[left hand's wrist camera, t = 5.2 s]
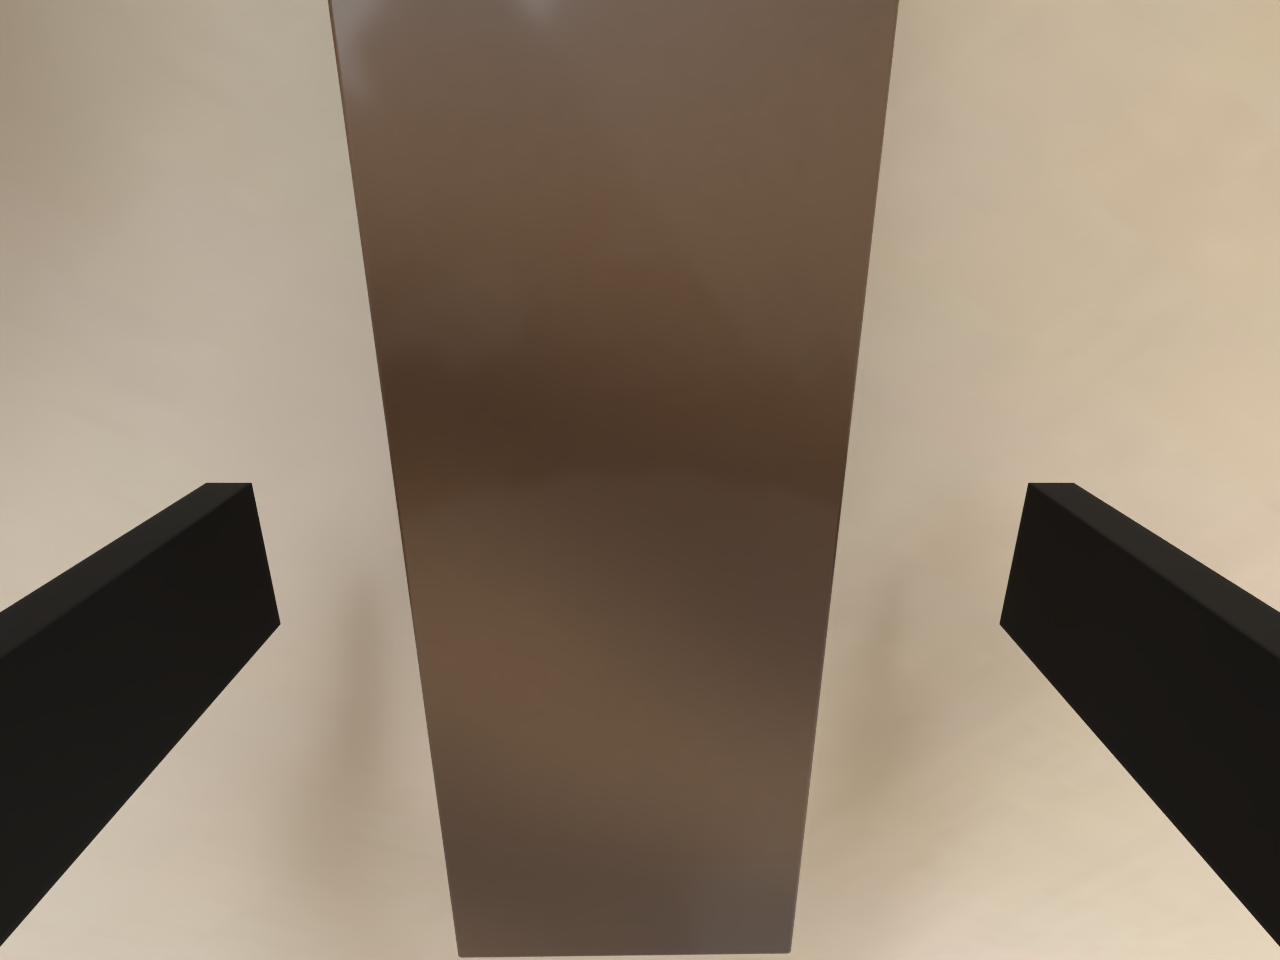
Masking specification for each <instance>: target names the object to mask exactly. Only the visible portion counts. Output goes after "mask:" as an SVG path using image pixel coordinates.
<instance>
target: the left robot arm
mask: <svg viewBox="0 0 1280 960" xmlns="http://www.w3.org/2000/svg"><path fill="white" fill-rule="evenodd" d="M279 625H280V619H279V614H278V610H277V605H276V600H275V595H274V590H273V585H272V580H271V575H270V570H269V566H268V561H267V556H266V551H265V546H264V541H263V536H262V531H261V526H260V522H259V517H258V512H257V507H256V502H255V497H254V492H253V487H252V483H205V484H204V485H202V486H201V487H199V488H197V489H196V490H194V491H193V492H191V493H189V494H188V495H186V496H185V497H183V498H182V499H180V500H178V501H177V502H175V503H174V504H172V505H170V506H169V507H167V508H166V509H164V510H162V511H161V512H159V513H158V514H156V515H154V516H153V517H151V518H150V519H148V520H147V521H145V522H143V523H142V524H140V525H139V526H137V527H135V528H134V529H132V530H131V531H129V532H127V533H126V534H124V535H123V536H121V537H119V538H118V539H116V540H115V541H113V542H112V543H110V544H108V545H107V546H105V547H104V548H102V549H100V550H99V551H97V552H96V553H94V554H92V555H91V556H89V557H88V558H86V559H84V560H83V561H81V562H80V563H78V564H76V565H75V566H73V567H72V568H70V569H69V570H67V571H65V572H64V573H62V574H61V575H59V576H57V577H56V578H54V579H53V580H51V581H49V582H48V583H46V584H45V585H43V586H41V587H40V588H38V589H37V590H35V591H34V592H32V593H30V594H29V595H27V596H26V597H24V598H22V599H21V600H19V601H18V602H16V603H14V604H13V605H11V606H10V607H8V608H6V609H5V610H3V611H2V612H0V946H1V945H2V944H3V943H4V942H5V940H6V939H7V938H8V937H9V936H10V935H11V934H12V932H13V931H14V930H15V929H16V928H17V927H18V926H19V924H20V923H21V922H22V921H23V920H24V919H25V917H26V916H27V915H28V914H29V913H30V912H31V911H32V909H33V908H34V907H35V906H36V905H37V904H38V903H39V901H40V900H41V899H42V898H43V897H44V896H45V894H46V893H47V892H48V891H49V890H50V889H51V888H52V886H53V885H54V884H55V883H56V882H57V881H58V880H59V878H60V877H61V876H62V875H63V874H64V873H65V871H66V870H67V869H68V868H69V867H70V866H71V865H72V863H73V862H74V861H75V860H76V859H77V858H78V856H79V855H80V854H81V853H82V852H83V851H84V850H85V848H86V847H87V846H88V845H89V844H90V843H91V842H92V840H93V839H94V838H95V837H96V836H97V835H98V833H99V832H100V831H101V830H102V829H103V828H104V827H105V825H106V824H107V823H108V822H109V821H110V820H111V819H112V817H113V816H114V815H115V814H116V813H117V812H118V810H119V809H120V808H121V807H122V806H123V805H124V804H125V802H126V801H127V800H128V799H129V798H130V797H131V796H132V794H133V793H134V792H135V791H136V790H137V789H138V787H139V786H140V785H141V784H142V783H143V782H144V781H145V779H146V778H147V777H148V776H149V775H150V774H151V772H152V771H153V770H154V769H155V768H156V767H157V766H158V764H159V763H160V762H161V761H162V760H163V759H164V758H165V756H166V755H167V754H168V753H169V752H170V751H171V749H172V748H173V747H174V746H175V745H176V744H177V743H178V741H179V740H180V739H181V738H182V737H183V736H184V735H185V733H186V732H187V731H188V730H189V729H190V728H191V726H192V725H193V724H194V723H195V722H196V721H197V720H198V718H199V717H200V716H201V715H202V714H203V713H204V712H205V710H206V709H207V708H208V707H209V706H210V705H211V703H212V702H213V701H214V700H215V699H216V698H217V697H218V695H219V694H220V693H221V692H222V691H223V690H224V689H225V687H226V686H227V685H228V684H229V683H230V682H231V680H232V679H233V678H234V677H235V676H236V675H237V674H238V672H239V671H240V670H241V669H242V668H243V667H244V665H245V664H246V663H247V662H248V661H249V660H250V659H251V657H252V656H253V655H254V654H255V653H256V652H257V651H258V649H259V648H260V647H261V646H262V645H263V644H264V642H265V641H266V640H267V639H268V638H269V637H270V636H271V634H272V633H273V632H274V631H275V630H276V629H277V628H278V626H279ZM1000 625H1001V626H1002V628H1003V629H1004V630H1005V631H1006V632H1007V633H1008V634H1009V636H1010V637H1011V638H1012V639H1013V640H1014V641H1015V642H1016V644H1017V645H1018V646H1019V647H1020V648H1021V649H1022V651H1023V652H1024V653H1025V654H1026V655H1027V656H1028V657H1029V659H1030V660H1031V661H1032V662H1033V663H1034V664H1035V665H1036V667H1037V668H1038V669H1039V670H1040V671H1041V672H1042V674H1043V675H1044V676H1045V677H1046V678H1047V679H1048V680H1049V682H1050V683H1051V684H1052V685H1053V686H1054V687H1055V689H1056V690H1057V691H1058V692H1059V693H1060V694H1061V695H1062V697H1063V698H1064V699H1065V700H1066V701H1067V702H1068V703H1069V705H1070V706H1071V707H1072V708H1073V709H1074V710H1075V712H1076V713H1077V714H1078V715H1079V716H1080V717H1081V718H1082V720H1083V721H1084V722H1085V723H1086V724H1087V725H1088V726H1089V728H1090V729H1091V730H1092V731H1093V732H1094V733H1095V735H1096V736H1097V737H1098V738H1099V739H1100V740H1101V741H1102V743H1103V744H1104V745H1105V746H1106V747H1107V748H1108V749H1109V751H1110V752H1111V753H1112V754H1113V755H1114V756H1115V758H1116V759H1117V760H1118V761H1119V762H1120V763H1121V764H1122V766H1123V767H1124V768H1125V769H1126V770H1127V771H1128V772H1129V774H1130V775H1131V776H1132V777H1133V778H1134V779H1135V781H1136V782H1137V783H1138V784H1139V785H1140V786H1141V787H1142V789H1143V790H1144V791H1145V792H1146V793H1147V794H1148V796H1149V797H1150V798H1151V799H1152V800H1153V801H1154V802H1155V804H1156V805H1157V806H1158V807H1159V808H1160V809H1161V810H1162V812H1163V813H1164V814H1165V815H1166V816H1167V817H1168V819H1169V820H1170V821H1171V822H1172V823H1173V824H1174V825H1175V827H1176V828H1177V829H1178V830H1179V831H1180V832H1181V833H1182V835H1183V836H1184V837H1185V838H1186V839H1187V840H1188V842H1189V843H1190V844H1191V845H1192V846H1193V847H1194V848H1195V850H1196V851H1197V852H1198V853H1199V854H1200V855H1201V856H1202V858H1203V859H1204V860H1205V861H1206V862H1207V863H1208V865H1209V866H1210V867H1211V868H1212V869H1213V870H1214V871H1215V873H1216V874H1217V875H1218V876H1219V877H1220V878H1221V880H1222V881H1223V882H1224V883H1225V884H1226V885H1227V886H1228V888H1229V889H1230V890H1231V891H1232V892H1233V893H1234V894H1235V896H1236V897H1237V898H1238V899H1239V900H1240V901H1241V903H1242V904H1243V905H1244V906H1245V907H1246V908H1247V909H1248V911H1249V912H1250V913H1251V914H1252V915H1253V916H1254V917H1255V919H1256V920H1257V921H1258V922H1259V923H1260V924H1261V926H1262V927H1263V928H1264V929H1265V930H1266V931H1267V932H1268V934H1269V935H1270V936H1271V937H1272V938H1273V939H1274V940H1275V942H1276V943H1277V944H1278V945H1279V946H1280V612H1278V611H1277V610H1275V609H1274V608H1272V607H1270V606H1269V605H1267V604H1266V603H1264V602H1262V601H1261V600H1259V599H1258V598H1256V597H1254V596H1253V595H1251V594H1250V593H1248V592H1246V591H1245V590H1243V589H1242V588H1240V587H1239V586H1237V585H1235V584H1234V583H1232V582H1231V581H1229V580H1227V579H1226V578H1224V577H1223V576H1221V575H1219V574H1218V573H1216V572H1215V571H1213V570H1211V569H1210V568H1208V567H1207V566H1205V565H1204V564H1202V563H1200V562H1199V561H1197V560H1196V559H1194V558H1192V557H1191V556H1189V555H1188V554H1186V553H1184V552H1183V551H1181V550H1180V549H1178V548H1176V547H1175V546H1173V545H1172V544H1170V543H1168V542H1167V541H1165V540H1164V539H1162V538H1161V537H1159V536H1157V535H1156V534H1154V533H1153V532H1151V531H1149V530H1148V529H1146V528H1145V527H1143V526H1141V525H1140V524H1138V523H1137V522H1135V521H1133V520H1132V519H1130V518H1129V517H1127V516H1126V515H1124V514H1122V513H1121V512H1119V511H1118V510H1116V509H1114V508H1113V507H1111V506H1110V505H1108V504H1106V503H1105V502H1103V501H1102V500H1100V499H1098V498H1097V497H1095V496H1094V495H1092V494H1091V493H1089V492H1087V491H1086V490H1084V489H1083V488H1081V487H1079V486H1078V485H1076V484H1075V483H1028V487H1027V492H1026V497H1025V502H1024V507H1023V512H1022V517H1021V522H1020V526H1019V531H1018V536H1017V541H1016V546H1015V551H1014V556H1013V561H1012V566H1011V570H1010V575H1009V580H1008V585H1007V590H1006V595H1005V600H1004V605H1003V610H1002V614H1001V619H1000Z"/></svg>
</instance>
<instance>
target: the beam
mask: <svg viewBox="0 0 1280 960" xmlns="http://www.w3.org/2000/svg"><path fill="white" fill-rule="evenodd" d="M328 4H329V12H330V19H331V26H332V33H333V41H334V48H335V55H336V63H337V70H338V77H339V85H340V92H341V99H342V107H343V114H344V121H345V129H346V136H347V143H348V151H349V158H350V165H351V173H352V180H353V187H354V195H355V202H356V209H357V216H358V224H359V231H360V238H361V246H362V253H363V260H364V268H365V275H366V282H367V290H368V297H369V304H370V312H371V319H372V326H373V334H374V341H375V348H376V356H377V363H378V370H379V378H380V385H381V392H382V399H383V407H384V414H385V421H386V429H387V436H388V443H389V451H390V458H391V465H392V473H393V480H394V487H395V495H396V502H397V509H398V517H399V524H400V531H401V539H402V546H403V553H404V561H405V568H406V575H407V583H408V590H409V597H410V604H411V612H412V619H413V626H414V634H415V641H416V648H417V656H418V663H419V670H420V678H421V685H422V692H423V700H424V707H425V714H426V722H427V729H428V736H429V744H430V751H431V758H432V766H433V773H434V780H435V787H436V795H437V802H438V809H439V817H440V824H441V831H442V839H443V846H444V853H445V861H446V868H447V875H448V883H449V890H450V897H451V905H452V912H453V919H454V927H455V934H456V941H457V949H458V955H459V957H461V958H462V957H543V956H624V955H705V954H786V953H790V951H791V944H792V935H793V926H794V918H795V909H796V900H797V891H798V882H799V874H800V865H801V856H802V847H803V838H804V830H805V821H806V812H807V803H808V794H809V786H810V777H811V768H812V759H813V751H814V742H815V733H816V724H817V715H818V707H819V698H820V689H821V680H822V671H823V663H824V654H825V645H826V636H827V628H828V619H829V610H830V601H831V592H832V584H833V575H834V566H835V557H836V548H837V540H838V531H839V522H840V513H841V504H842V496H843V487H844V478H845V469H846V461H847V452H848V443H849V434H850V425H851V417H852V408H853V399H854V390H855V381H856V373H857V364H858V355H859V346H860V337H861V329H862V320H863V311H864V302H865V294H866V285H867V276H868V267H869V258H870V250H871V241H872V232H873V223H874V214H875V206H876V197H877V188H878V179H879V171H880V162H881V153H882V144H883V135H884V127H885V118H886V109H887V100H888V91H889V83H890V74H891V65H892V56H893V47H894V39H895V30H896V21H897V12H898V4H899V0H328Z"/></svg>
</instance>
